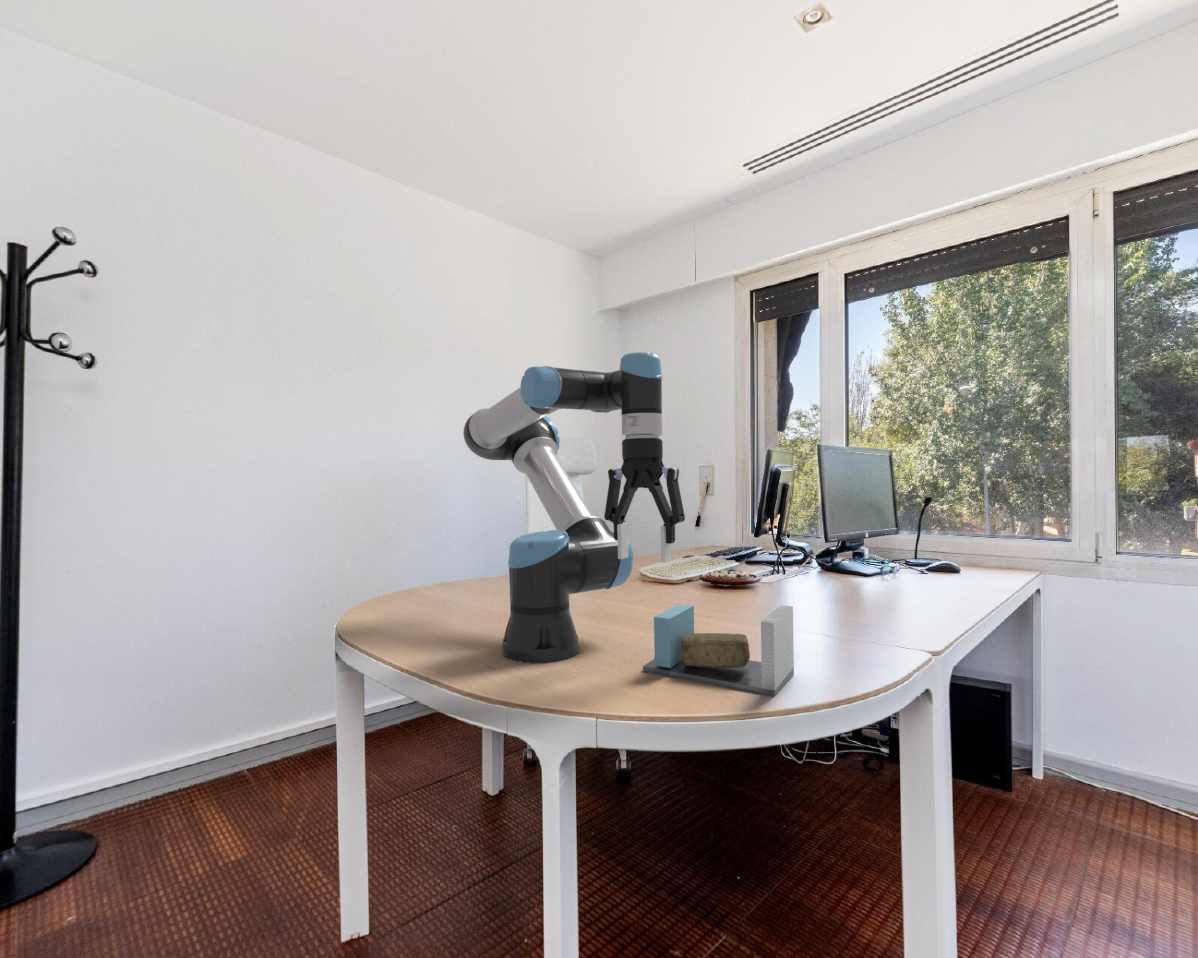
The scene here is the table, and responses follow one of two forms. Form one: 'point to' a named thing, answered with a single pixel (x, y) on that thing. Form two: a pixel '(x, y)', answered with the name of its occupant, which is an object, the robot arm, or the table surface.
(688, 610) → the sliding jaw
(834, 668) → the table surface
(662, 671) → the vise bed
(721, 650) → the stone block
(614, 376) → the robot arm
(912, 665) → the table surface
